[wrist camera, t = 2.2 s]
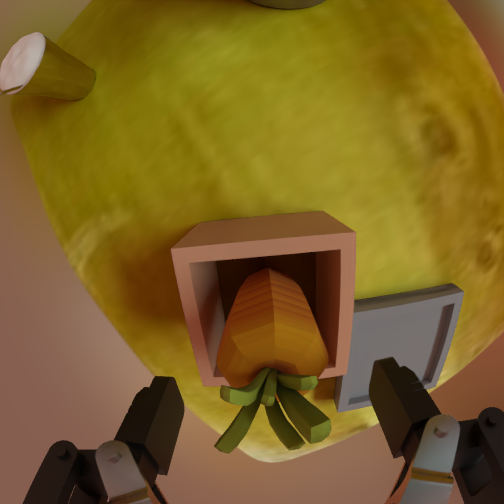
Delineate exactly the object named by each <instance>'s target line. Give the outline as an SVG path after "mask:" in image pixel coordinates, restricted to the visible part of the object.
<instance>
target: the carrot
mask: <svg viewBox="0 0 504 504" xmlns="http://www.w3.org/2000/svg"><path fill="white" fill-rule="evenodd" d="M328 360H329V359H328V353H327V351H326V348H325V345H324V343H323V340H322V337H321V335H320V332H319V330H318V327H317V324H316V322H315V319H314V317H313V314H312V312H311V309H310V307H309V305H308V302H307V300H306V298H305V296H304V294H303V292H302V290H301V288H300V287H299V285H298V284H297V283H296V282H295V281H294V280H293V279H292V278H291V277H290V276H289V275H287V274H284V273H282V272H279V271H276V270H274V269H271V268H265V269H263V270H260V271H258V272H256V273H253V274H251V275H249V276H248V277H247V278H246V279H245V281H244V282H243V284H242V285H241V287H240V289H239V291H238V293H237V296H236V298H235V301H234V303H233V305H232V308H231V310H230V313H229V315H228V318H227V321H226V324H225V328H224V331H223V334H222V338H221V341H220V345H219V349H218V353H217V357H216V363H217V367H218V369H219V370H220V372H221V373H222V375H223V376H224V378H225V379H226V380H227V382H228V383H229V385H230V386H231V387H230V386H225V385H221V389H220V398H222V399H223V400H225V401H227V402H229V403H232V404H236V405H242V406H243V407H242V408H241V410H240V411H239V413H238V414H237V416H236V417H235V419H234V420H233V422H232V423H231V425H230V426H229V428H228V429H227V430H226V431H225V432H224V434H223V435H222V436H221V437H220V438H219V440H218V441H217V443H216V444H215V445H214V447H215V448H217V449H218V450H219V451H221V452H225V453H230V452H232V451H233V449H235V448H236V447H237V446H238V444H239V443H240V442H241V440H242V439H243V438H244V436H245V435H246V433H247V431H248V429H249V427H250V425H251V423H252V421H253V419H254V417H255V415H256V412H257V410H258V408H259V406H260V403H261V404H263V405H265V409H266V413H267V416H268V420H269V423H270V425H271V427H272V428H273V430H274V432H275V433H276V435H277V437H278V438H279V439H280V441H281V442H282V443H283V444H284V445H285V446H286V448H287V449H288V450H295V449H299V448H300V447H302V446H303V445H304V444H305V442H304V440H303V439H302V438H301V436H300V435H299V434H298V432H297V431H296V430H295V429H294V428H293V426H292V425H291V424H290V423H289V422H288V420H287V419H286V417H285V415H284V413H283V412H282V410H281V408H280V405H279V403H278V402H281V404H282V406H283V408H284V410H285V412H286V414H287V415H288V417H289V419H290V420H291V421H292V423H293V424H294V425H295V427H296V428H297V430H298V431H299V432H300V433H301V434H302V435H303V436H304V438H305V439H306V440H307V441H308V442H309V443H310V444H313V443H317V442H321V441H322V440H324V439H325V438H326V437H328V436H329V434H330V431H331V422H330V419H329V418H328V417H327V416H326V415H325V414H324V413H323V412H321V411H320V410H319V409H318V408H317V407H315V406H314V405H313V404H311V403H310V402H309V401H308V400H307V399H306V398H304V397H303V396H302V395H304V394H306V393H308V392H309V391H310V390H311V389H314V388H316V385H317V383H318V378H319V377H320V376H321V374H322V373H323V371H324V370H325V368H326V367H327V366H328Z"/></svg>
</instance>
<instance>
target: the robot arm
mask: <svg viewBox="0 0 504 504" xmlns="http://www.w3.org/2000/svg"><path fill="white" fill-rule="evenodd" d="M249 1H251V2H254V3H257V4H260V5H263V6H268V7H274V8H283V9H298V8H306V7H311V6H314V5H317V4H320V3H322V2H324V1H325V0H249ZM369 398H370V401H371V404H372V406H373V408H374V411H375V413H376V415H377V418H378V420H379V423H380V425H381V427H382V430H383V432H384V435H385V437H386V440H387V442H388V445H389V447H390V450H391V453H392V455H393V458H398V457H400V456H403V457H404V459H405V462H404V464H403V466H402V468H401V471H400V473H399V475H398V478H397V480H396V482H395V484H394V486H393V489H392V491H391V493H390V495H389V497H388V499H387V500H386V503H385V504H447V502H448V499H449V496H450V493H451V490H452V486H453V482H454V479H453V477H450V473H451V470H452V472H453V474H454V477H455V479H456V482H457V484H458V487H459V490H460V493H461V495H462V498H463V501H464V504H504V412H503V411H501V410H500V409H498V408H495V407H489V408H486V409H484V410H483V411H482V412H481V413H480V414H479V416H478V418H477V419H472V420H466V421H457V420H456V419H455V418H454V417H452V416H449V415H444V414H443V415H442V414H441V413H440V411H439V409H438V408H437V406H436V405H435V403H434V401H433V400H432V398H431V397H430V395H429V394H428V392H427V391H426V389H424V386H423V384H422V383H421V382H420V380H419V378H418V377H417V375H416V374H415V372H413V371H412V370H411V369H409V368H408V367H406V366H402V367H400V366H399V365H398V363H397V362H396V360H395V359H394V358H393V357H388V358H384V359H379V360H375V361H374V363H373V368H372V374H371V379H370V383H369ZM183 416H184V402H183V399H182V397H181V394H180V391H179V389H178V386H177V383H176V380H175V378H174V377H165V376H155V377H154V379H153V381H152V383H151V385H150V387H144V388H143V389H142V390H141V391H140V392H138V393H137V394H136V396H135V398H134V400H133V402H132V405H131V406H130V408H129V410H128V413H127V414H126V416H125V418H124V420H123V422H122V424H121V426H120V428H119V430H118V432H117V434H116V437H115V439H114V440H112V441H107V442H105V443H103V444H102V445H100V446H99V447H98V449H96V450H78V449H77V448H76V446H75V445H74V444H73V443H71V442H69V441H64V440H62V441H58V442H56V443H54V444H53V445H52V446H51V447H50V449H49V451H48V453H47V455H46V456H45V458H44V460H43V462H42V464H41V466H40V468H39V470H38V472H37V474H36V476H35V478H34V480H33V482H32V484H31V486H30V489H29V491H28V493H27V495H26V497H25V500H24V502H23V504H68V501H69V499H70V501H69V504H169V503H168V501H167V500H166V498H165V496H164V495H163V493H162V491H161V490H160V488H159V486H158V484H157V483H156V481H155V480H156V477H157V474H160V475H167V473H168V470H169V466H170V463H171V459H172V455H173V452H174V448H175V444H176V441H177V437H178V434H179V430H180V427H181V423H182V420H183ZM74 486H75V488H74ZM73 488H74V490H73ZM72 491H73V493H72ZM71 493H72V496H71ZM70 496H71V498H70ZM108 497H109V502H107V500H108Z"/></svg>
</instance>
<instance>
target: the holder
mask: <svg viewBox="0 0 504 504" xmlns="http://www.w3.org/2000/svg"><path fill="white" fill-rule="evenodd" d="M306 252H315V269H316V313H312V314H313V317H314V319H315V322H316V324H317V327H318V330H319V332H320V335H321V337H322V340H323V343H324V345H325V348H326V351H327V353H328V359H329V360H328V366H327V367H326V368H325V370H324V371H323V373H322V374H321V376H320V377H319V378H318V379H321V378H328V377H334V376H340V375H346V374H347V369H348V361H349V353H350V344H351V334H352V322H353V309H354V293H355V267H356V232H355V231H353V230H352V229H350V228H349V227H347V226H346V225H344V224H343V223H341V222H340V221H338V220H337V219H335V218H334V217H332V216H331V215H329V214H327V213H326V212H324V211H318V212H305V213H292V214H280V215H269V216H258V217H247V218H237V219H227V220H218V221H209V222H200V223H199V224H197V225H196V226H195V227H194V228H193V229H192V230H191V231H190V232H189V233H187V234H186V235H185V236H184V237H183V238H182V239H181V240H180V241H179V242H178V243H177V244H175V245H174V246H173V247H172V248H171V253H172V258H173V264H174V269H175V274H176V279H177V284H178V288H179V293H180V298H181V302H182V307H183V311H184V315H185V319H186V324H187V328H188V332H189V336H190V340H191V343H192V347H193V351H194V355H195V358H196V362H197V366H198V369H199V373H200V376H201V380H202V383H203V386H221V385H225V386H230V385H229V383H228V382H227V380H226V379H225V378H224V376H223V375H222V373H221V372H220V370H219V369H218V367H217V363H216V357H217V353H218V349H219V345H220V341H221V338H222V334H223V331H224V328H225V324H226V321H225V316H224V310H223V304H222V298H221V292H220V286H219V279H218V273H217V266H216V261H217V260H228V259H239V258H251V257H262V256H273V255H284V254H295V253H306Z"/></svg>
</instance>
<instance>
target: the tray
mask: <svg viewBox="0 0 504 504" xmlns="http://www.w3.org/2000/svg"><path fill="white" fill-rule="evenodd" d="M463 295H464V291H463V290H461V289H460V288H459V287H457V286H456V285H454V284H453V283H452V284H447V285H442V286H437V287H432V288H427V289H421V290H416V291H410V292H405V293H399V294H393V295H386V296H380V297H374V298H367V299H360V300H354V309H353V322H352V334H351V344H350V353H349V361H348V369H347V374H346V375H340V376H337V377H336V386H335V394H334V402H335V406H336V409H337V413H338V412H344V411H349V410H354V409H359V408H363V407H368V406H372V404H371V401H370V398H369V383H370V379H371V374H372V368H373V363H374V361H375V360H379V359H384V358H388V357H393V358H394V359H395V360H396V362H397V363H398V365H399V366H400V367H402V366H406V367H408V368H409V369H411V370H412V371H413V372H415V374H416V375H417V377H418V378H419V380H420V382H421V383H422V384H423V386H424V389H426V390H427V389H430V388H433V387H435V386H436V384H437V381H438V379H439V376H440V374H441V371H442V368H443V366H444V363H445V360H446V357H447V354H448V351H449V348H450V345H451V342H452V338H453V335H454V331H455V328H456V324H457V320H458V316H459V312H460V308H461V304H462V299H463Z"/></svg>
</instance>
